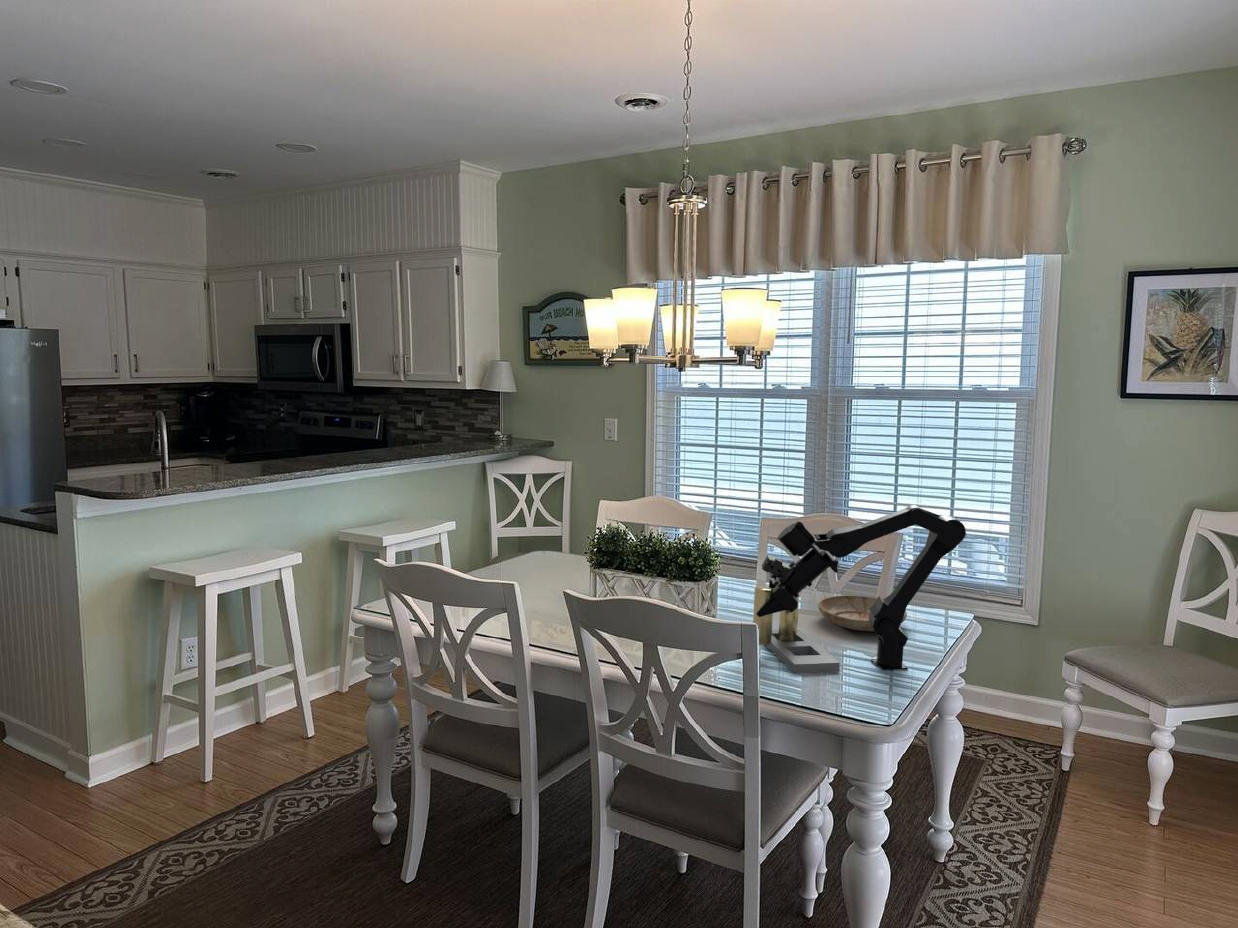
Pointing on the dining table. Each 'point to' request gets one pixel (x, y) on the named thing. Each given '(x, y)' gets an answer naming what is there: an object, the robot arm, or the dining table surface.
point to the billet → (788, 625)
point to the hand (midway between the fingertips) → (757, 612)
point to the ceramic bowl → (849, 611)
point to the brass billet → (765, 621)
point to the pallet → (803, 645)
